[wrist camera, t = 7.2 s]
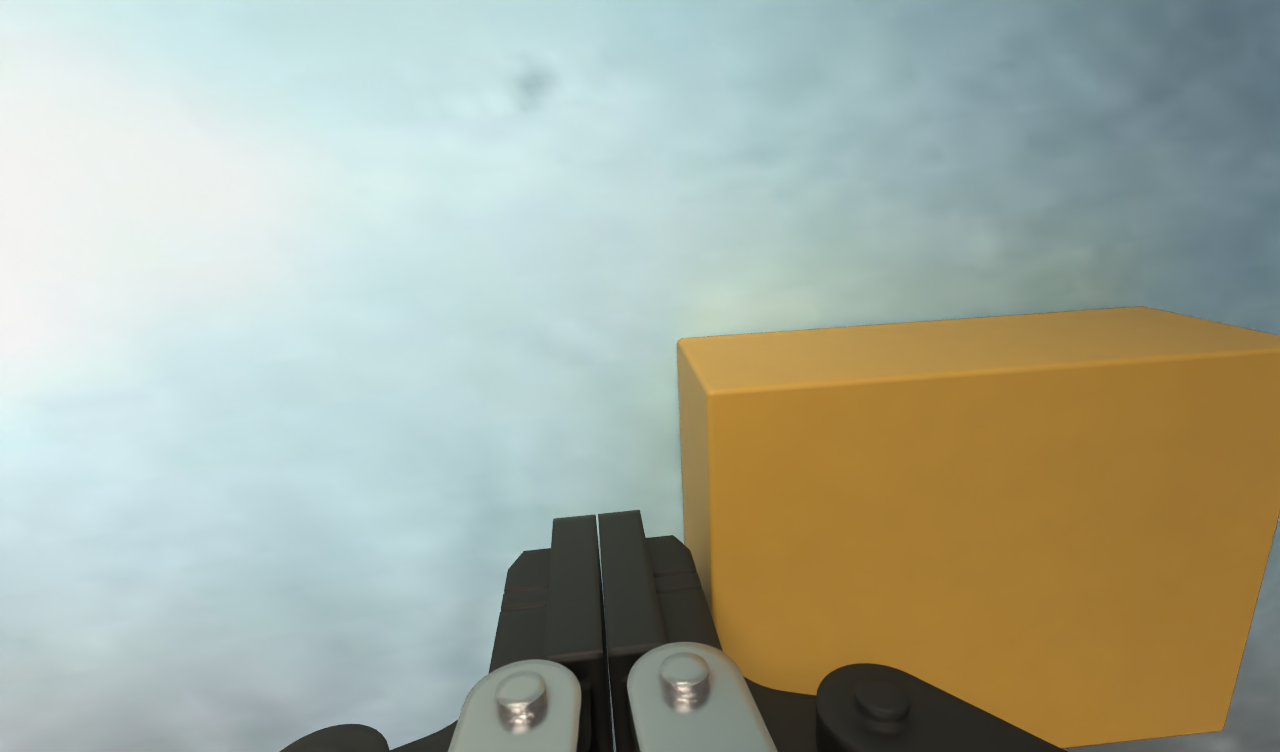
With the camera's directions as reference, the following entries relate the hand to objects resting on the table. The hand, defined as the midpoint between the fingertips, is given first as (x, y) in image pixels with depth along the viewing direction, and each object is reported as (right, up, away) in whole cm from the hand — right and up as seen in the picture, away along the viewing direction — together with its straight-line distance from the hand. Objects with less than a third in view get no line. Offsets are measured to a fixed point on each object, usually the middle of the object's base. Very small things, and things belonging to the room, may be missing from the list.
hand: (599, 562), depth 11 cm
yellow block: (+6, +1, +2) cm, 6 cm away
